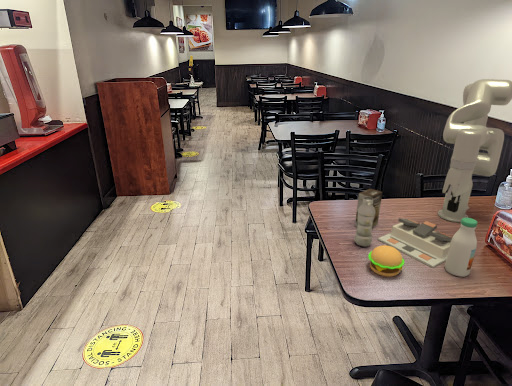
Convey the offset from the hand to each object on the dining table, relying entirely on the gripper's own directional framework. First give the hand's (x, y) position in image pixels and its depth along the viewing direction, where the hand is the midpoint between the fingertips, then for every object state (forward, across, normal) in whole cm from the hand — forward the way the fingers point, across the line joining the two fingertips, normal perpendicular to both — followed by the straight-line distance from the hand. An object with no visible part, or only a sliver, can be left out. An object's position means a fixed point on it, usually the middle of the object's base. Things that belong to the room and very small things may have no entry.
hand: (451, 210), depth 129 cm
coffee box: (+17, +10, -30) cm, 36 cm away
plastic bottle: (+16, +24, -20) cm, 35 cm away
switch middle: (+10, +4, -7) cm, 12 cm away
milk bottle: (+16, +10, +11) cm, 22 cm away
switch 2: (+10, +4, 0) cm, 10 cm away
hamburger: (+16, +31, -4) cm, 35 cm away
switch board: (+16, +7, -7) cm, 19 cm away
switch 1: (+10, +4, -14) cm, 17 cm away
